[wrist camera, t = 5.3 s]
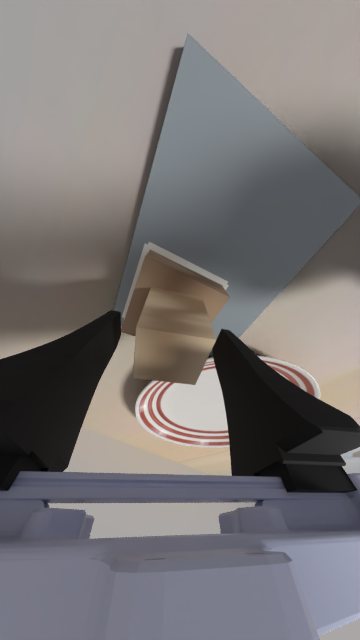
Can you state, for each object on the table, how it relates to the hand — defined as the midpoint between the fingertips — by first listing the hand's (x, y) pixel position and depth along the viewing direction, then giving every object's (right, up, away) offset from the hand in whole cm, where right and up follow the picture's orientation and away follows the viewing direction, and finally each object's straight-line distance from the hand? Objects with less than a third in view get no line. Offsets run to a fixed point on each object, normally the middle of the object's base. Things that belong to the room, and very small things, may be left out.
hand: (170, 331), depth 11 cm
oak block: (0, +1, +2) cm, 2 cm away
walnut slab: (0, +3, +4) cm, 5 cm away
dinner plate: (+7, -13, +15) cm, 21 cm away
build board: (+3, +5, +3) cm, 7 cm away
